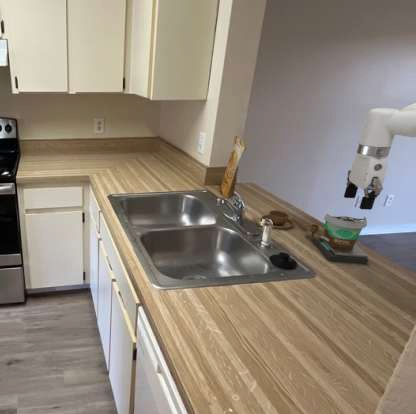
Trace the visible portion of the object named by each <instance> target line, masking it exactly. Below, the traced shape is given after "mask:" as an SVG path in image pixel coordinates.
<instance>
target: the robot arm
mask: <svg viewBox="0 0 416 414" xmlns="http://www.w3.org/2000/svg"><path fill="white" fill-rule="evenodd" d="M395 136H402V137H408V138H416V102H415V103H412V104H410V105H407V106H405V107H403V108H402V109H397V108H392V107H391V108H390V107H378V108H377V107H375V108H372V109H370V110H369V111H368V112H367V115H366V118H365V123H364V126H363V129H362V133H361V136H360V139H359V143H358V147H357V150H356V153H355V154H356V156H355V158H354V160H353V161H352V162H353V163H352V165H351V168H350V169H349V170H347V178H346V183H345V184H346V187H345V190H344V194H343V198H344V199H355V198H356V196H357V193H358V189H362V190H363V194H364V196H362V198H361V201H360V204H359V209H360V210H368V211H369V210H371V211H372V209H373V207H374V204H375V201H376V199H377V198H378V196H380V194H381V192H382V191H383V190H384V186H383V184H384V181H385V178H386V173H387V169H388V157H389V154H390V152H391V151H390V150H391V147H392V144H393V142H394V138H395ZM369 191H370V192H369Z"/></svg>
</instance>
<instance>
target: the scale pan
mask: <svg viewBox="0 0 416 414" xmlns="http://www.w3.org/2000/svg"><path fill="white" fill-rule="evenodd" d="M319 238H320V239H321V240H322V239H323V235H319ZM322 241H323V240H322ZM323 242H324V243H325V244H326V246H327V247H328V248H329V249H330V250H331V251H332V252H333V253H334V254H335V255H341V256H353V257H364V258H368V257H369V255H368V254H367V253H366V252H365V251H364V250H363V249H362V248H361V247H360V246H358V245H357V244H356V243H355V244H354V246H353V247H351V248H341V247H336V246H333V245H330V244H328V243H326V242H325V241H323ZM368 259H369V258H368Z"/></svg>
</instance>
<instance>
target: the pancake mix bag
mask: <svg viewBox="0 0 416 414" xmlns="http://www.w3.org/2000/svg"><path fill="white" fill-rule="evenodd" d="M246 149H247V144H246V142H245V141H243V139H242V138H241V137H239V136H238V135H235V136H234V142H233V146H232V150H231V153H230V157H229V159H228V162H227V165H226V168H225V171H224V172H225V173H224V175H223V178H222V182H221V185H220V190H221V195H222V197H226V199H229V198H231V197H233V196H234V193H235V189H236V183H237V168H238V165H239V163H240V161H241V158H242V156H243V154H244V153H245V151H246Z"/></svg>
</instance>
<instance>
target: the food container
mask: <svg viewBox="0 0 416 414" xmlns="http://www.w3.org/2000/svg"><path fill="white" fill-rule="evenodd" d="M323 219H324V220H325V221H324V228H323V234H322V236H323V239H322V240H323V241H325V242H326V243H328V244H330V245H333V246H336V247H341V248H351V247H353V246H354V244H356V242H357V240H358V238H359V236H360V234H361V232H362V230H363V229H364V228H366V227H367V225H368V224H367V223H368V221H367V217H366V216H364V217H363V218H355V217H350V216H334V215H333V216H332V215H330V214H328V213H326V214H325V215H324V217H323Z"/></svg>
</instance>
